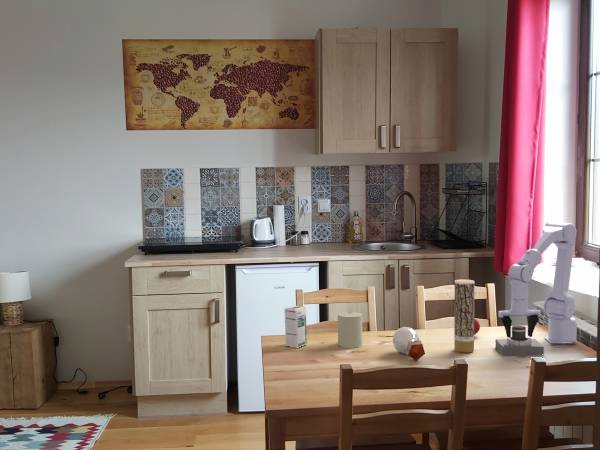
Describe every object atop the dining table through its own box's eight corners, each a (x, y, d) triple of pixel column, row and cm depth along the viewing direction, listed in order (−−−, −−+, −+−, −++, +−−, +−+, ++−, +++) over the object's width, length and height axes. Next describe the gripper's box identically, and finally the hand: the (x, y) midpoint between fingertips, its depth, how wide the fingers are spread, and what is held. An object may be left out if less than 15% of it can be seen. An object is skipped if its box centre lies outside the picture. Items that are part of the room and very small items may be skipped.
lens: (522, 340, 247) (522, 325, 246) (527, 343, 242) (527, 328, 242) (509, 340, 247) (509, 325, 246) (514, 344, 242) (514, 329, 242)
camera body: (534, 346, 249) (534, 334, 249) (543, 355, 239) (543, 342, 239) (495, 347, 250) (495, 334, 249) (502, 355, 240) (502, 342, 239)
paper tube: (474, 353, 242) (474, 283, 240) (454, 353, 243) (454, 282, 241) (473, 348, 249) (474, 279, 246) (454, 347, 250) (454, 279, 248)
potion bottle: (403, 352, 250) (419, 369, 236) (383, 339, 247) (398, 355, 233) (418, 331, 250) (435, 347, 236) (398, 318, 247) (414, 333, 233)
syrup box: (297, 348, 252) (297, 309, 251) (285, 346, 256) (284, 307, 254) (307, 345, 257) (306, 306, 255) (294, 342, 260) (293, 304, 259)
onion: (481, 338, 263) (481, 317, 262) (466, 338, 263) (466, 317, 262) (477, 334, 269) (478, 313, 268) (462, 334, 269) (463, 313, 268)
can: (362, 341, 261) (362, 310, 259) (362, 348, 252) (362, 315, 250) (338, 341, 262) (337, 310, 260) (337, 348, 252) (336, 315, 251)
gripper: (535, 295, 247) (534, 333, 248) (495, 296, 246) (495, 334, 247) (543, 299, 240) (543, 338, 241) (502, 300, 239) (502, 339, 240)
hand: (519, 336), depth 244 cm, fingers open, 7 cm apart
